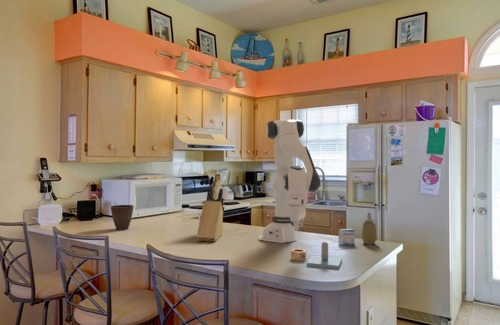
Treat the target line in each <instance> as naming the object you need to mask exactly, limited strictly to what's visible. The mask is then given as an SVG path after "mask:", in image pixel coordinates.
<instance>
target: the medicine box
mask: <svg viewBox="0 0 500 325" xmlns="http://www.w3.org/2000/svg"><path fill="white" fill-rule="evenodd" d="M355 231H356V230H355V229H353V228H338V245H340V246H355V237H356V236H355Z"/></svg>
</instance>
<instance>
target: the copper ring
mask: <svg viewBox="0 0 500 325" xmlns="http://www.w3.org/2000/svg"><path fill="white" fill-rule="evenodd" d="M290 259H291V260H292V261H295V260H296V262H297V261H298V262H304V261H306V260H307V250H306V249H303V248H293V249H291V250H290Z"/></svg>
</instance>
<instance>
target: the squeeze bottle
mask: <svg viewBox="0 0 500 325" xmlns="http://www.w3.org/2000/svg"><path fill="white" fill-rule="evenodd" d="M361 239H362V241H363V244H364V245H368V246H370V245H371V246H372V245H375V244H376V241H377V228H376V223H375V222H374V218H372V214H371V212H370V211H368V212H367V215H366V218H364V222H363V223H362V232H361Z"/></svg>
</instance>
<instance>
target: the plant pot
mask: <svg viewBox="0 0 500 325" xmlns="http://www.w3.org/2000/svg"><path fill="white" fill-rule="evenodd" d="M134 208H135V206H134V205H133V204H117V205H111V206H110V212H111V213H110V214H111V216H112V217H111V218H112V221H113V224H114V226H115V229H116V230H117V231H126V230H129V227H130V224H131V221H132V218H133V213H134Z"/></svg>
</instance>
